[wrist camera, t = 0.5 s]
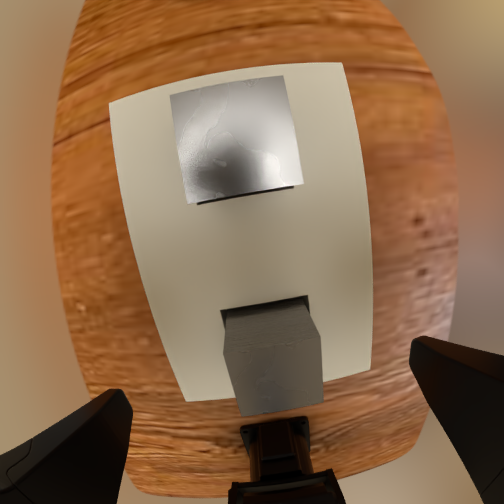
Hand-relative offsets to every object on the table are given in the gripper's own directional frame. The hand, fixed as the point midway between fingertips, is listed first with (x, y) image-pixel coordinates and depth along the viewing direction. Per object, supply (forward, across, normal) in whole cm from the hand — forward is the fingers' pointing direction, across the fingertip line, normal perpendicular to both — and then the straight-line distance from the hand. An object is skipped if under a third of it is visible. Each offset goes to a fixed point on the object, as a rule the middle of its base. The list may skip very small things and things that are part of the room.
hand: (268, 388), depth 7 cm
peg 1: (+8, 0, -7) cm, 11 cm away
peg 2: (+9, 0, +3) cm, 9 cm away
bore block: (+12, 0, -2) cm, 12 cm away
